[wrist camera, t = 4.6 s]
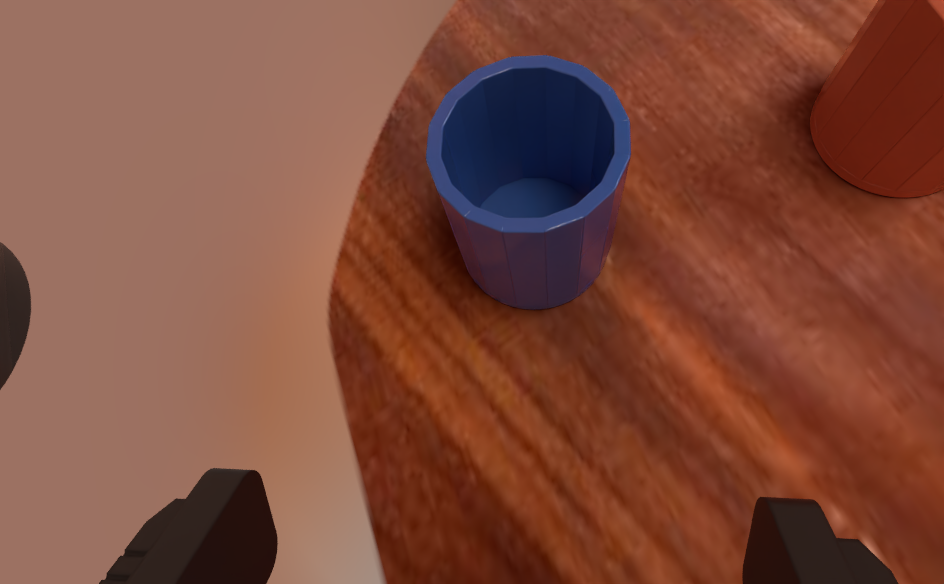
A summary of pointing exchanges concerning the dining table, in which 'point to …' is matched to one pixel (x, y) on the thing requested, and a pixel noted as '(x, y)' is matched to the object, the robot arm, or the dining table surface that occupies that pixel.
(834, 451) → the dining table surface
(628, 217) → the dining table surface
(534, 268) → the blue cup
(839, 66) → the terracotta cup
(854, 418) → the dining table surface
